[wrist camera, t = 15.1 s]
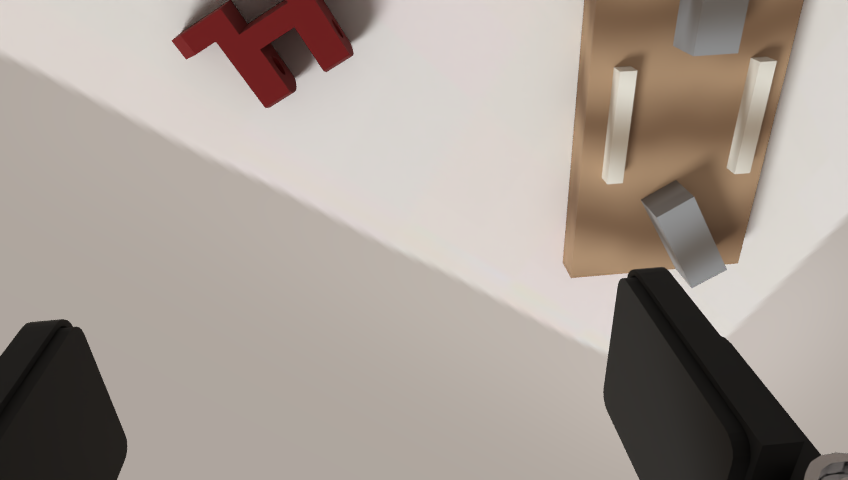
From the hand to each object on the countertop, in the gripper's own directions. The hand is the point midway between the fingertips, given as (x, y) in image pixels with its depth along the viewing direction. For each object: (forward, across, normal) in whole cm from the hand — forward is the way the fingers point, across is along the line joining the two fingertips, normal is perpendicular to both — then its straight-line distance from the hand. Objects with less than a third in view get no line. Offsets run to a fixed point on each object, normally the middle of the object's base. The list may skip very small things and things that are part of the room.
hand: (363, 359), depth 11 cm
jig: (+28, -19, +6) cm, 35 cm away
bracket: (+27, 0, -3) cm, 27 cm away
